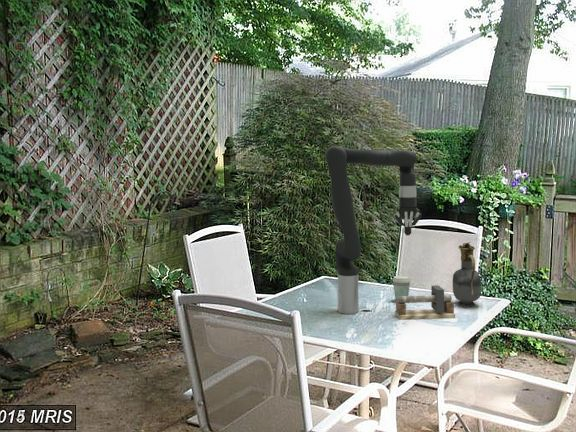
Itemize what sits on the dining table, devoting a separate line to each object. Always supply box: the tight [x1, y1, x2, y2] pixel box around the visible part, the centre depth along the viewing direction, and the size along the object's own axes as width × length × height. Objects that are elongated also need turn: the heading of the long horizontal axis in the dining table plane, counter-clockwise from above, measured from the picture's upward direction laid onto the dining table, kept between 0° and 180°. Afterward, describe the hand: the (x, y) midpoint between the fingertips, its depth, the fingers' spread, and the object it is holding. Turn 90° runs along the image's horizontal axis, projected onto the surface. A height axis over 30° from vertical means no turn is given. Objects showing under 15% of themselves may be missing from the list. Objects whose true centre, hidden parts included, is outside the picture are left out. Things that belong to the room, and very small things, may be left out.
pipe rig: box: [394, 294, 456, 321], centre depth 269 cm, size 24×10×9 cm, turn 92°
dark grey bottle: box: [452, 241, 482, 307], centre depth 284 cm, size 11×19×30 cm, turn 0°
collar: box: [430, 284, 445, 312], centre depth 269 cm, size 3×9×10 cm, turn 2°
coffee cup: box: [392, 275, 411, 303], centre depth 295 cm, size 8×9×12 cm
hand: (407, 235), depth 272 cm, fingers closed
